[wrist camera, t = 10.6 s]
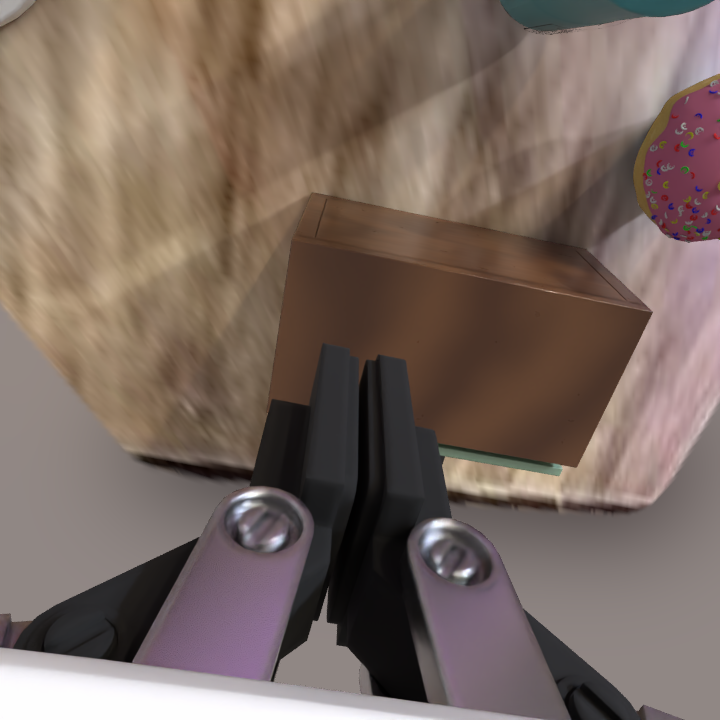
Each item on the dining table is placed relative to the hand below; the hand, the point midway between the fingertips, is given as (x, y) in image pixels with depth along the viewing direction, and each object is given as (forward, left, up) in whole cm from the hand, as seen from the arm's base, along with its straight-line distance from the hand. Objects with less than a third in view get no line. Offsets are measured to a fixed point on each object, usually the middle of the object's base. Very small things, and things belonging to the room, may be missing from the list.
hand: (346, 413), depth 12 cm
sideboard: (+6, -7, -27) cm, 28 cm away
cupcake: (+18, +5, -27) cm, 33 cm away
